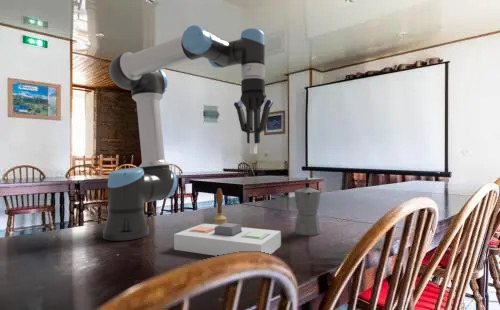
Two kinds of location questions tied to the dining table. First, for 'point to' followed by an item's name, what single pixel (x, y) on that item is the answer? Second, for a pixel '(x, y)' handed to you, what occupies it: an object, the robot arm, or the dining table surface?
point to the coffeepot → (307, 211)
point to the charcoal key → (228, 229)
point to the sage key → (255, 235)
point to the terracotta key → (202, 229)
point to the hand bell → (219, 209)
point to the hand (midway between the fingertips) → (253, 153)
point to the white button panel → (225, 241)
